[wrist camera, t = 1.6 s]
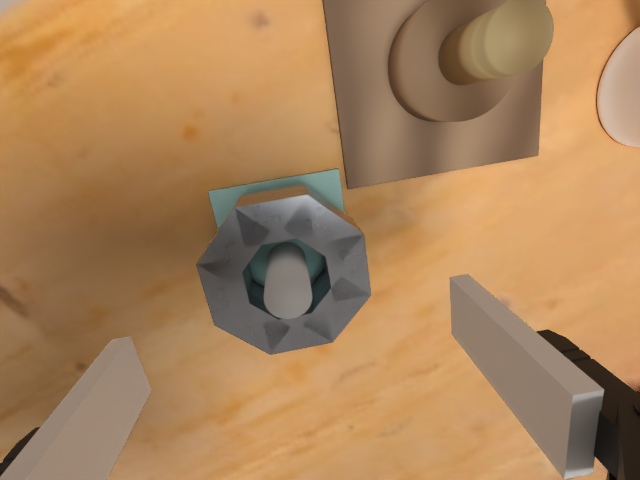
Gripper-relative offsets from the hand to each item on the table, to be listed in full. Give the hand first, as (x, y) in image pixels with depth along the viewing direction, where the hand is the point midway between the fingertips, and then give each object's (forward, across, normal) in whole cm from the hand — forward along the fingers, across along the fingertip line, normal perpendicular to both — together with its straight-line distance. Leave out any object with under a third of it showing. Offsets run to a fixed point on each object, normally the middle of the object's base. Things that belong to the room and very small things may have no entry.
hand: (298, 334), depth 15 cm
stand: (+12, 0, 0) cm, 12 cm away
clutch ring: (+8, 0, 0) cm, 8 cm away
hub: (+12, +12, +10) cm, 20 cm away
